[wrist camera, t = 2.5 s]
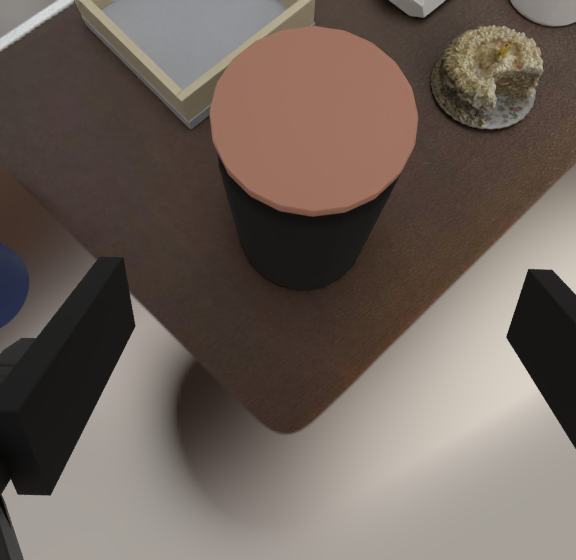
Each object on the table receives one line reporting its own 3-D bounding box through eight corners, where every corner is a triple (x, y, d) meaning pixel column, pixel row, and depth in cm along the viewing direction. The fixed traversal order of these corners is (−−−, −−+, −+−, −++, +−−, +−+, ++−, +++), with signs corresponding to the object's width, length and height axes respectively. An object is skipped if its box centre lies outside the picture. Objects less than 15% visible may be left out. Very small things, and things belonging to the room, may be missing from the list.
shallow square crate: (190, 130, 44) (181, 102, 40) (85, 25, 46) (66, -11, 42) (314, 31, 46) (317, -4, 42) (208, -63, 49) (201, -104, 45)
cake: (406, 88, 46) (419, 44, 40) (475, 31, 47) (495, -18, 42) (487, 152, 43) (511, 113, 38) (556, 89, 45) (588, 44, 40)
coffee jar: (339, 164, 43) (378, 4, 25) (379, 273, 40) (451, 177, 23) (226, 196, 42) (185, 52, 25) (259, 308, 40) (240, 237, 22)
